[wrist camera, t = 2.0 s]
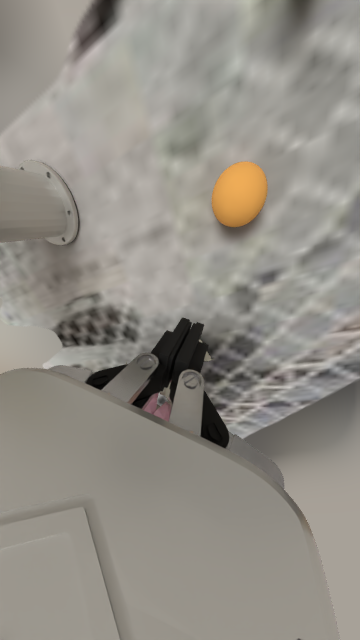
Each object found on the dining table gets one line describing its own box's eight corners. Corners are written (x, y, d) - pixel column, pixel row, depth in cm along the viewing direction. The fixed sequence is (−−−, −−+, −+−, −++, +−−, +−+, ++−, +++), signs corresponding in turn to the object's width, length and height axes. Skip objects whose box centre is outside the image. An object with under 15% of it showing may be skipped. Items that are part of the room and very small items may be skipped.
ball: (210, 221, 24) (201, 222, 19) (223, 165, 20) (216, 149, 15) (252, 230, 23) (254, 233, 18) (273, 172, 19) (283, 158, 14)
